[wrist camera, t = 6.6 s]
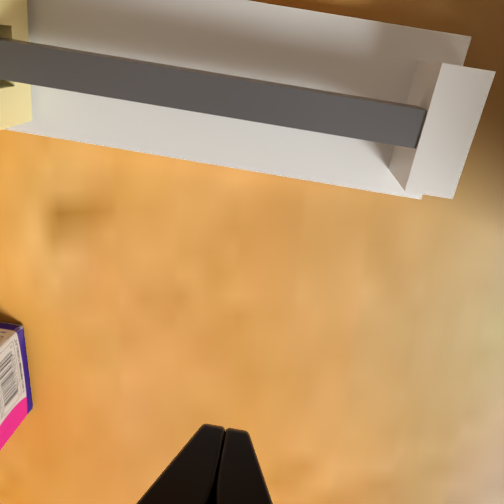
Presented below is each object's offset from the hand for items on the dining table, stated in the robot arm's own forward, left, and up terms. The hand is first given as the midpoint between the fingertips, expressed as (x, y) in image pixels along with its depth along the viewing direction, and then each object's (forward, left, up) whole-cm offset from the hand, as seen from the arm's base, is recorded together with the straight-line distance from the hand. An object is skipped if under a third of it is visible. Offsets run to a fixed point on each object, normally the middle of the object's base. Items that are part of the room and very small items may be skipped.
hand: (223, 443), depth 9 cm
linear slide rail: (+5, -5, -13) cm, 15 cm away
